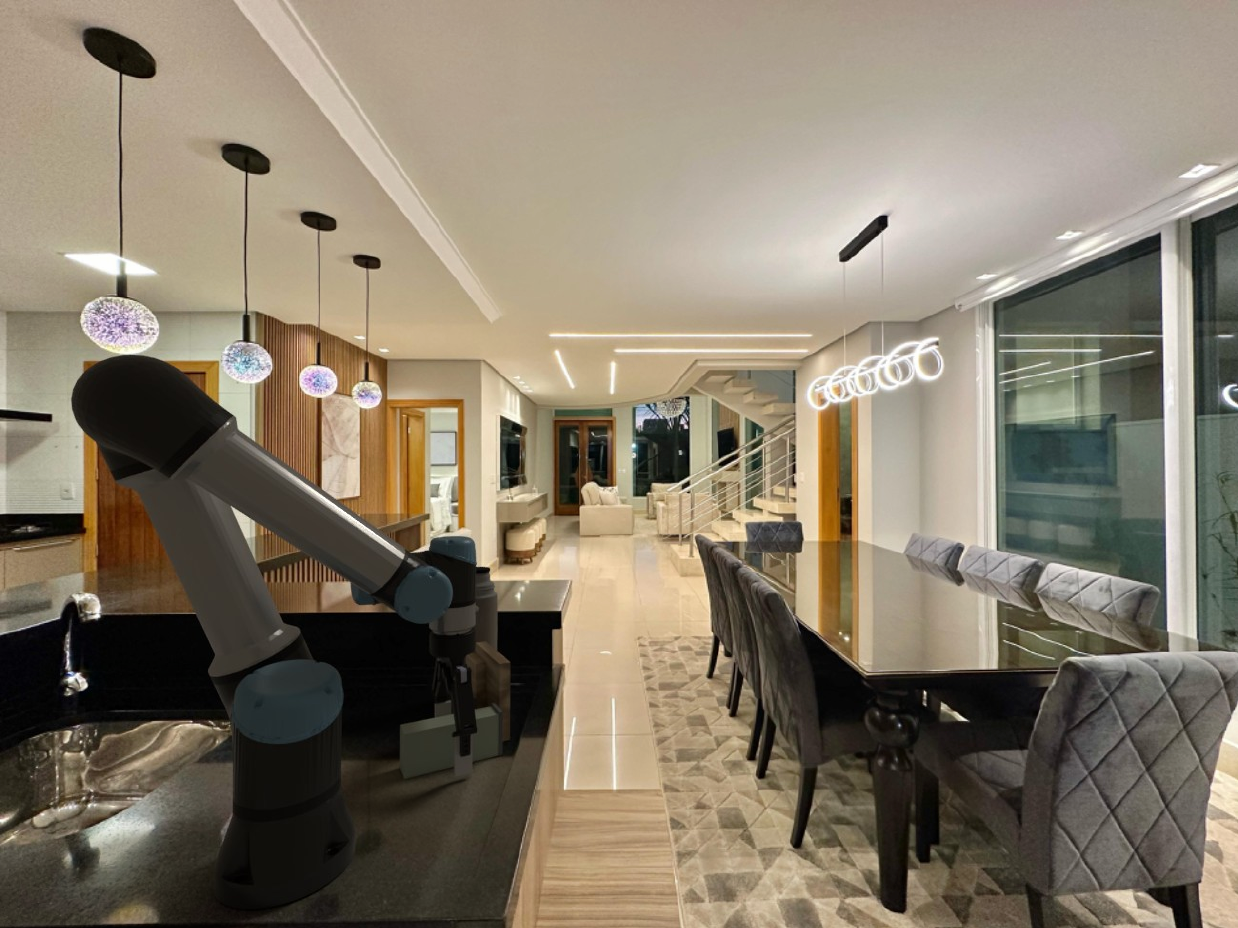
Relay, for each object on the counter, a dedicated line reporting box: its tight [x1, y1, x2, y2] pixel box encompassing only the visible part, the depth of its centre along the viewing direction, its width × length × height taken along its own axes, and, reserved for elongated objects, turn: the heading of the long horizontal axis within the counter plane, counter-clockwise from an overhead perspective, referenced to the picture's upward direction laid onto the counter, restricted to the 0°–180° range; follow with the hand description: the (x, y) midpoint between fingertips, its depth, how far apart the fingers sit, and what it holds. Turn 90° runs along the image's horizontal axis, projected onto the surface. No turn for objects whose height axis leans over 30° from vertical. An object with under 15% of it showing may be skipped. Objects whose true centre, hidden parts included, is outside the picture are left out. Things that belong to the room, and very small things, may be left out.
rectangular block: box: [399, 703, 504, 780], centre depth 97 cm, size 16×4×7 cm, turn 120°
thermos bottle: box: [464, 566, 499, 664], centre depth 124 cm, size 8×8×28 cm
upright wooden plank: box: [446, 641, 511, 742], centre depth 110 cm, size 9×16×14 cm, turn 30°
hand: (452, 755), depth 97 cm, fingers open, 13 cm apart
